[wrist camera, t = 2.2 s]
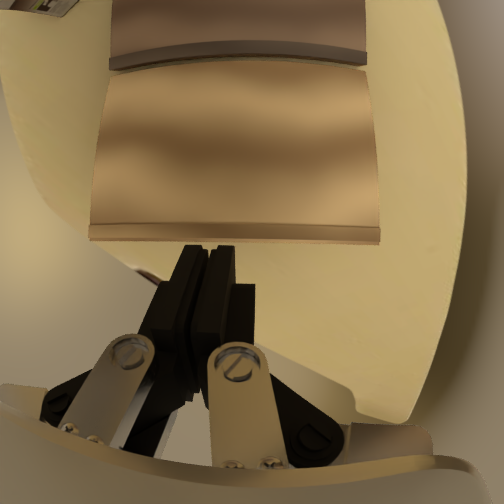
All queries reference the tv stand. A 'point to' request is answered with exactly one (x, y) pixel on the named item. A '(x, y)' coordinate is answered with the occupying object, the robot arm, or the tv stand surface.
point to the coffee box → (39, 6)
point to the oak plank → (237, 155)
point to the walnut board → (236, 30)
